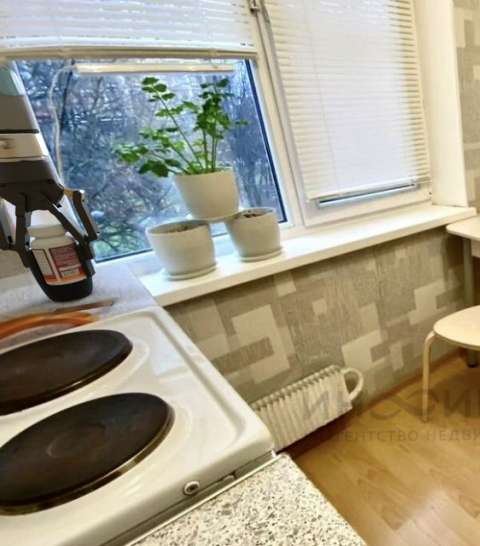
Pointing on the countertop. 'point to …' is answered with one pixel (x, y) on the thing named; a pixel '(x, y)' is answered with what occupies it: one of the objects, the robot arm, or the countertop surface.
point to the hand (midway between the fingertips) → (68, 278)
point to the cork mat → (83, 307)
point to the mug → (67, 290)
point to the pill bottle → (56, 253)
